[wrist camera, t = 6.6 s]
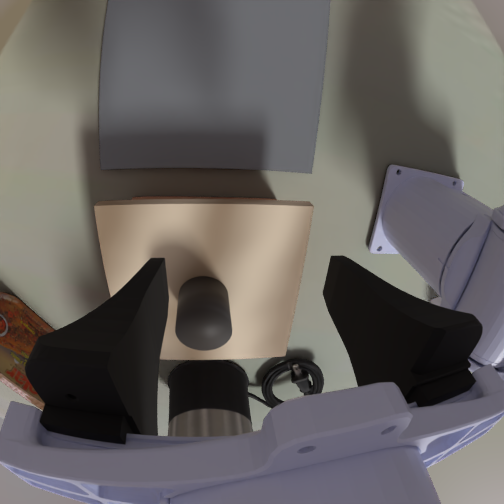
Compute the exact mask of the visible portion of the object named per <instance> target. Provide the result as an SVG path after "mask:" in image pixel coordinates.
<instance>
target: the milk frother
mask: <svg viewBox="0 0 504 504" xmlns="http://www.w3.org/2000/svg"><path fill="white" fill-rule="evenodd" d="M290 370H292V372H291V381H292V383H296V384H297V386H298V387H299V388H300V391H301V392H303V393H304V396H306V395H313V394H320V393H321V392H322V389H323V385H324V378H323V374H322V371H321V369H320V368H319V367H318V366H317V365H316V364H315V363H313V362H311V361H309V360H304V359H293V360H287V361H285V362H282V363H279V364H277V365H275V366H274V367H272V368H271V369H270V370H269V371H268V372H267V373H266V375H265V377H264V378H263V382H262V394H263V396H264V398H265V400H266V401H264V400H262V399H260V398H259V397H257V396H255V395H254V394H252V393H249V392H248V384H249V380H248V377H247V374H246V373H245V372H244V371H243V370H242V369H241V368H240V367H238V366H236V365H235V364H233V363H230V362H227V361H223V360H192V361H188V362H185V363H182V364H181V365H179V366H177V367H176V368H175V369H174V370H173V371H172V372H171V373H170V375H169V377H168V386H169V389H170V395H169V428H168V436H175V437H215V436H235V435H240V434H245V433H249V432H253V429H252V422H251V416H250V408H249V399H248V397H251V398H254V399H256V400H258V401H260V402H261V403H263V404H264V405H266V406H267V407H270V408H274V407H275V406H277V405H279V404H281V403H283V402H285V401H282V400H280V399H278V398H277V397H275V395H274V394H273V391H272V385H273V383H274V381H275V380H276V379H277V378H278V376H280V375H281V374H283V373H285V372H287V371H290ZM308 374H310V375H311V377H312V381H313V385H311V381H309V379H308V377H309V375H308Z"/></svg>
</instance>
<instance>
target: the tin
mask: <svg viewBox="0 0 504 504" xmlns="http://www.w3.org/2000/svg"><path fill="white" fill-rule="evenodd" d="M53 331H55V330H54V329H53V328H52V327H50V326H49V325H48V324H47V323H46V322H44V321H43V320H42V319H41V318H40V317H39V316H38V315H36V314H35V313H34V312H33V311H32V310H31V309H30V308H29V307H27V306H26V305H25V304H24V303H23V302H22V301H21V300H19V299H18V298H16V297H15V296H13V295H10V294H8V293H4V292H0V381H1V382H3V383H4V384H5V385H7V386H8V387H9V388H11V389H12V390H14V391H15V392H16V393H18V394H19V395H21V396H22V397H23V398H25V399H26V400H28V401H29V402H31V403H32V404H34V405H35V406H37V407H38V408H40V409H41V410H43V408H44V405H45V403H44V402H43V400H42V399H41V398H40V396H39V395H38V394H37V392H36V391H35V389H34V388H33V387H32V385H31V384H30V382H29V380H28V378H27V376H26V373H25V365H26V362H27V360H28V358H29V356H30V353H31V351H32V349H33V347H34V345H35V343H36V341H37V339H38V337H40V336H43V335H45V334H48V333H50V332H53Z"/></svg>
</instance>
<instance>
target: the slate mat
mask: <svg viewBox="0 0 504 504" xmlns="http://www.w3.org/2000/svg"><path fill="white" fill-rule="evenodd" d="M329 13H330V0H108V6H107V12H106V19H105V27H104V35H103V45H102V56H101V70H100V90H99V143H100V165H101V170H108V169H132V168H226V169H251V170H270V171H285V172H298V173H310V174H312V167H313V160H314V153H315V146H316V139H317V131H318V123H319V115H320V107H321V98H322V89H323V80H324V71H325V60H326V50H327V39H328V26H329Z"/></svg>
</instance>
